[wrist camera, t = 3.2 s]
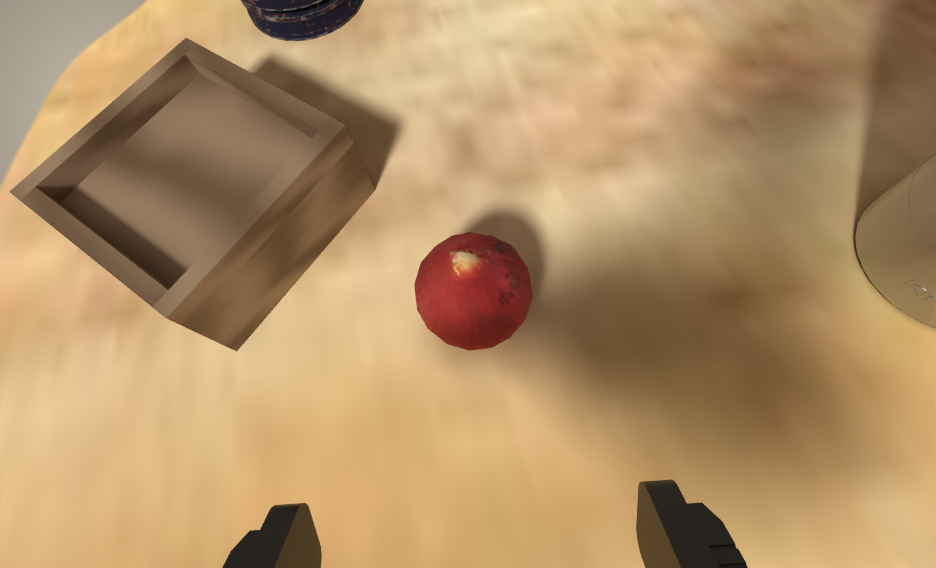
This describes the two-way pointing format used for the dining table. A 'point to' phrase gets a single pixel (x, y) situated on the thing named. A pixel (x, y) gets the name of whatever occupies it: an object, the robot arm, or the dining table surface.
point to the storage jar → (300, 17)
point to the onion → (473, 291)
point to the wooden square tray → (203, 191)
